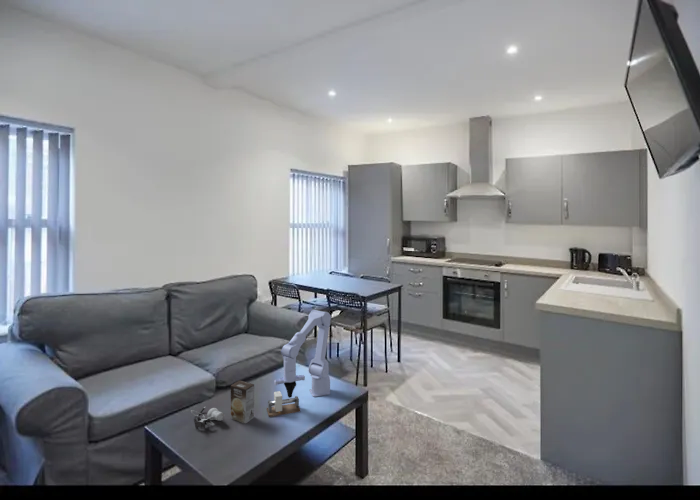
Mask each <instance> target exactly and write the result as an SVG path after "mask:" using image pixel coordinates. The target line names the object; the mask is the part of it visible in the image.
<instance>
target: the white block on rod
mask: <svg viewBox="0 0 700 500" xmlns="http://www.w3.org/2000/svg"><path fill="white" fill-rule="evenodd" d="M282 400H283V395H282V392H281V390H278V391H274V392H273V401H275V405H274V406H273V407H274V408H275V411H276V412H279V411H282V405H283V404H282Z"/></svg>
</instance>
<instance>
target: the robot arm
mask: <svg viewBox="0 0 700 500" xmlns="http://www.w3.org/2000/svg"><path fill="white" fill-rule="evenodd" d="M307 317H308V319H307V321H306V322H305V324H304V325H303V327H302V328H301V329H300V331H297V332H296V333H295V334H294V335H293V337H292V338H291V339H290V340H289V341H288V343H286V344H284V345H283V346H282V348H281V350H280V354H281V356H282V360H283V377H280V378H277V379H274V385H275V386H278V385H280V384H281V385H282V384H283V385H284V386H285V390H286V393H287V397H288V399H290V398H293V393H294V390H295V388H296V387H297V382H300V381H306V378H305V377H306V376H305V374H301V375H300V374H298V375H297V374H296V373H297V359H296V358H297V356H298V355H299V353H300V352H299V351H300V349H301V346H302V345H303V344H304V342H306V340H307V339H306V338H307V337H306V336H307V335H309V333H310V332H311V331H312V329H314V327H315V326H316V327H317V328H318V332H317V339H316V346H315V355H314V358H312V359H311V360H310V363H309V365H308V374H309V375H310V376H311V389H309V392H310V394H311V395H312V397H313V398H315V397H321V396H327V395H328V396H329V395H331V377H330V375H329V372H330V368H329V365H330V363H329V362H328V360H327V359H326V353H327V346H328V340H329V331H330V327H331V319H332V316H331V314H330V313H329V312H328V311H322V310H317V309H312V310H311V311H310V313H309V314H308V316H307Z"/></svg>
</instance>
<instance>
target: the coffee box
mask: <svg viewBox="0 0 700 500" xmlns="http://www.w3.org/2000/svg"><path fill="white" fill-rule="evenodd" d="M254 418H255V384H254V383H252V382H251V383H250V382H247V381H243V380H240V379H239V380H237V381H236V382H234V383H232V384H231V385H230V419H231V420H233V421H237V422H240V423H242V424H247V423H248V422H250V421H251V420H252V419H254Z"/></svg>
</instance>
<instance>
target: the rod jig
mask: <svg viewBox="0 0 700 500" xmlns="http://www.w3.org/2000/svg"><path fill="white" fill-rule="evenodd" d="M274 405H275V401H274V400H272V401H271V400H270V399H269V400H267V407H266V412H267V416H268V418H271V417H278V416H282V415H283V416H284V415H289V414H296V413H301V408H300V399H299V396H298V395H296V396H294V397H290V398H284V399H283V398H282V411H279V412H276V411H275V408H274Z"/></svg>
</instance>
